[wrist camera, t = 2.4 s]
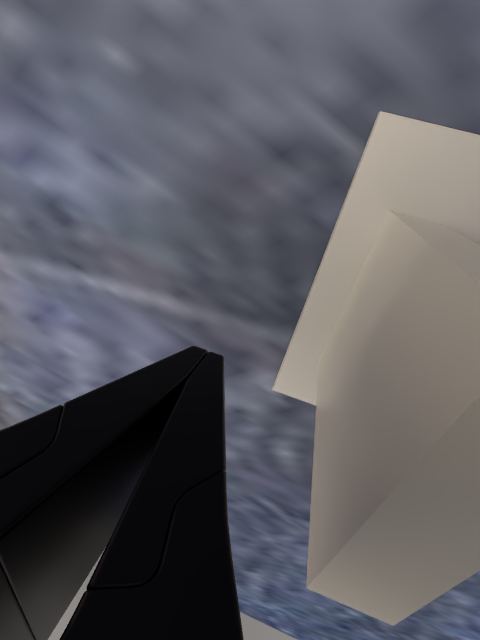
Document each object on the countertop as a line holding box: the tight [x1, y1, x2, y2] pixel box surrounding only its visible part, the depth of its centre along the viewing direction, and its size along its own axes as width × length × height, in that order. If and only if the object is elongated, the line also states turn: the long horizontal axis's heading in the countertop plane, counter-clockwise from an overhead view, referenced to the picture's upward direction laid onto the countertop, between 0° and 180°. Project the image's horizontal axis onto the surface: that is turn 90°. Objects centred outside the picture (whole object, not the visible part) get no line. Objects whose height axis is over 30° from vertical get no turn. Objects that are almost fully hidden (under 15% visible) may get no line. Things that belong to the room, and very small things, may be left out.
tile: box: [306, 210, 480, 626], centre depth 10 cm, size 2×8×10 cm, turn 166°
